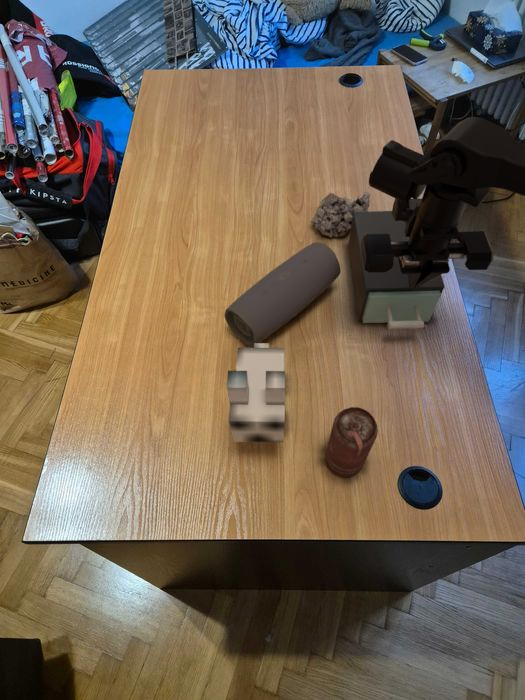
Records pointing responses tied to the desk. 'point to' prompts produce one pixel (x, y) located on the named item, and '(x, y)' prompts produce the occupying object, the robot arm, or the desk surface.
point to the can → (350, 441)
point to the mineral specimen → (338, 214)
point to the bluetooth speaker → (282, 293)
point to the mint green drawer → (401, 308)
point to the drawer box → (379, 280)
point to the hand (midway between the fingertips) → (411, 287)
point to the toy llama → (257, 395)
